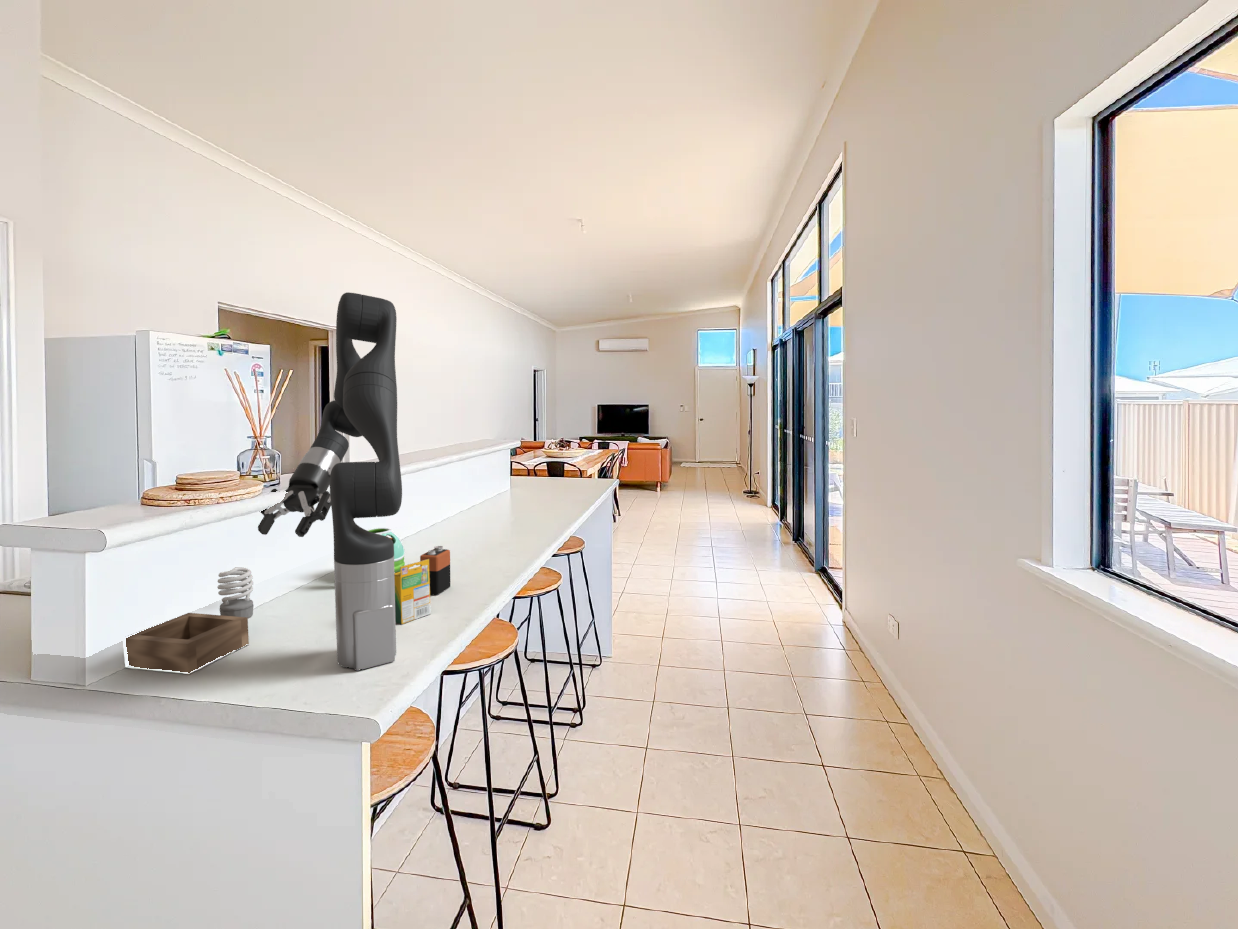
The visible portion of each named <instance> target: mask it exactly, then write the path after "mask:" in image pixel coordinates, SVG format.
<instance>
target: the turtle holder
mask: <svg viewBox="0 0 1238 929" xmlns="http://www.w3.org/2000/svg"><path fill="white" fill-rule="evenodd" d="M366 530H367V531H369V532H372V533H376V534H379V535H383V536H386V537H389V538H390V539H391V540H392V541H393V543H394V573H398V572H400V567H401V566H405V565H406V562H405V555H406V552H405V547H404V544H403V542H402V540H401V539H400V536H398V535H397V534H396V533H395V532H394V531H393V530H392V528H389V527H388V528H386V527H376V528H370V529H369V528H368V529H366Z"/></svg>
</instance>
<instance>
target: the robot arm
mask: <svg viewBox="0 0 1238 929" xmlns="http://www.w3.org/2000/svg"><path fill="white" fill-rule="evenodd" d="M335 325H336V326H335V328H336V329H335V353H336V377H335V383H334V390H333V399H334V400H331V401H330V402H328V403H327V404H326V405H325V407H324V409H323V413H322V418H321V424H320V428H319V430H318V434H317V435H316V437H315V439H314V441H313V443H312V445H311V446H310V448H309V449H308V451H306V453H305V454H304V455H303V457H302V459H301V460H300V462H299V464H298V465H297V467H296V468H295V470H294V472H293V473H292V475H291V476H290V478H289V481H288V487H287V488H286V489H285V490H284V491H286V492H288V493H286V494H285V497H284V499H283V500H282V501H281V502H280V503H277V504H275V505H274V506H272V507H270V508H269V509H268V508H266V509H265V510H263V511H261V512H260V513H261V515H262V516H263V518H262V519H261V520H260V522H259V524H258V526H257V530H258V532H259V533H261V535H263V536H264V535H265V536H266V535H268V534H269V532H270V530H271V529H272V526H273V525H274V523H275V522H276V521H275V520H276V519H278V518H280V517H281V516H285V515H287V514H288V513H295V512H298V513H304V516H302V517H301V519H300V521H299V523H298V525H297V527H296V528H295V530H294V533H295V534H296V535H297V537H299V538H303V537H304V536H305V535H307V534H308V532H309V530H310V529H311V527H312V525H313V524H314V523H316V521H323V522H324V520H325V519H326V518H327V516H328V513H329V511H330V509H331V516H332V517H331V518H332V529H333V531H332V532H333V565H334V566H333V568H334V569H333V571H334V572H333V573H334V575H333V576H334V599H335V600H334V602H335V603H334V605H335V606H334V608H335V635H336V636H335V637H336V638H335V639H336V657H337V658H336V659H337V660H336V661H337V664H338V663H339V664H338V665H339V666H341V667H343V666H344V668H347V667H349V668H348V669H354V670H355V669H356V670H355V671H360V670H359V669H362V670H364V669H369V668H373V667H376V666H380V665H381V666H382V665H384V664H388V663H391V662H392V663H393V662H394V661H396V655H397V629H396V628H397V627H396V626H397V625H396V624H397V623H396V621H395V579H394V543H393V541H392V540H391V539H390V538H391V537H390V536H387V537H386V536H383V535H379V534H376V533H372V532H369V531H367V530H368V529H365V528H362V527H361V526H360V525H358V524H357V523H356V522H355V520H354V519H362V518H363V519H366V518H376V517H378V518H382V517H384V518H385V517H390V516H394V515H396V514H398V513H399V511H400V508H401V505H402V500H403V485H402V484H403V482H402V473H401V464H400V462H401V461H400V455H399V454H400V452H399V444H398V386H397V385H398V384H397V374H396V359H395V358H396V339H397V311H396V307H395V305H394V303H393V302H392V301H390V300H388V299H384V298H380V297H377V296H376V297H375V296H373V295H372V296H371V295H367V294H361V293H355V292H344V293H343V294H342V295H341V296H340V298H339V301H338V305H337V311H336V324H335ZM353 340H354V341H360V342H365V343H373V344H375V345H374V347H373V348H372V349H371V350H370V351H369V352H368V353H366V354H365V355H364V356H363V357H361V356H360V354H359V353H358V352H357V350H356V348H355V346H354V343H353ZM341 433H343V434H345V435H348V436H350V437H353V438H361V437H363V438H364V439H365V441H367V443H368V444H369V446H371V447H372V449H373V451H374V453H375V455H376V457H377V459H378V461H346V462H345V461H344V462H342V461H343V459H344V457H345V456H346V453H347V452H348V450H349V447H350V445H349V444H350V443H349V440H348V439H347V437H345V436H344V435H343V434H341ZM328 489H329V491H328ZM276 491H279V490H278V489H277V488H273V489H271V490H270V492H276ZM282 505H283V506H284V507H285V508H283V507H282ZM315 506H316V507H315Z"/></svg>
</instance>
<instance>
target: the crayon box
mask: <svg viewBox="0 0 1238 929" xmlns="http://www.w3.org/2000/svg"><path fill="white" fill-rule="evenodd" d="M420 565H421V566H420ZM414 566H416V567H414ZM412 567H413V568H412ZM394 579H395V621H396V624H397V625H398V624H399V625H404V624H406V623H409V622H412V621H415V620H417V619H421V618H423V617H426V616H430V615H431V614H432V611H431V608H432V607H431V595H430V578H429V559H427V560H423V561H420V560H419V561H416V562H413V563H408V564H405V565H404V566H401V567H400V572H398V573H394Z"/></svg>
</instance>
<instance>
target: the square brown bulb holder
mask: <svg viewBox="0 0 1238 929" xmlns="http://www.w3.org/2000/svg"><path fill="white" fill-rule="evenodd" d="M161 623H162V624H161ZM161 623H158V624H159V625H158V624H156V626H155V625H153V626H154V627H153V626H150V627H151V628H150V627H147V628H148V629H147V628H145V629H146V630H145V629H143V630H144V631H142V630H140V631H141V632H140V631H138V632H139V633H137V632H136V633H137V634H135V635H132V634H131V635H132V636H130V637H128V638H126V647H127V652H128V653H127V654H128V661H129V665H131V666H134V667H140V668H147V669H148V668H149V669H162V670H172V671H180V672H188V673H190V672H191V671H193V670H195V669H198V668H199V667H201V666H203V665H205V664H206V663H208V662H211V661H213V660H215V659H216V658H218V657H220V656H224V655H226V654H227V653H229V652H232V651H233V650H237V649H239V648H241V647H243V646H245V645H246V644H249V645H250V642H249V640H250V639H249V638H250V636H249V619H248V618H247V617H235V616H223V615H219V614H210V613H209V614H208V613H198V612H197V613H195V612H187V613H184V614H182V615H179V616H177V618H176V617H175V618H171V619H169V621H168V620H166V621H164V623H163V622H161Z"/></svg>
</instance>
